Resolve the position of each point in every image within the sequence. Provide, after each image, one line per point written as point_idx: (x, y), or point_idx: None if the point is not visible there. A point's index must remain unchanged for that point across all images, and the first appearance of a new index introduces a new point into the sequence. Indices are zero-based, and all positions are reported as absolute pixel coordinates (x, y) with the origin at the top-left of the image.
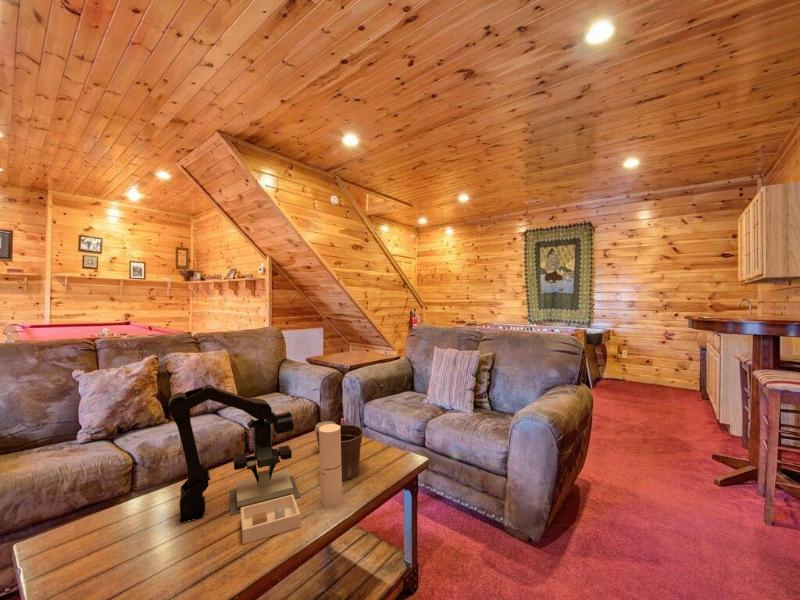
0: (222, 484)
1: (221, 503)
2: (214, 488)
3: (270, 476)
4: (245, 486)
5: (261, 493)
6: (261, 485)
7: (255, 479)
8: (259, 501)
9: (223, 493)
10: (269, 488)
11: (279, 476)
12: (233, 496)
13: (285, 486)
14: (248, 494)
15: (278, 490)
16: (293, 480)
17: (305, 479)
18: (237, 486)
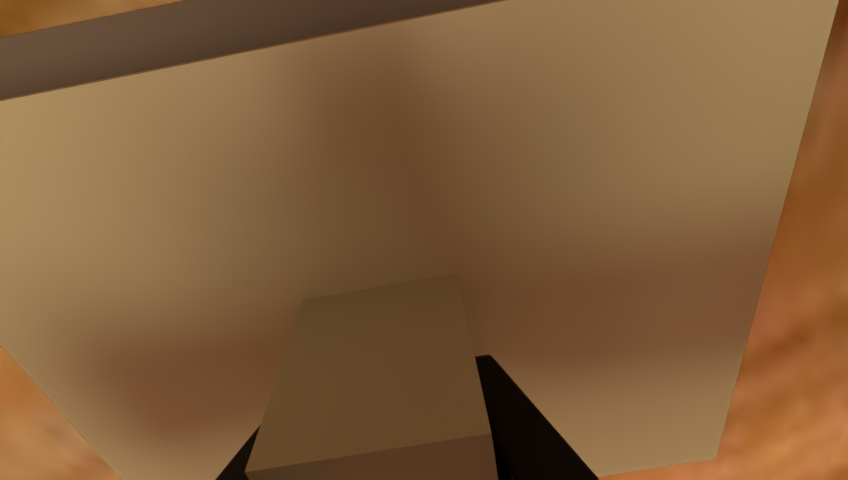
0: (732, 469)
1: (818, 218)
2: (798, 437)
3: None
4: (633, 351)
5: (401, 89)
6: (422, 299)
7: None
8: (428, 14)
9: (756, 366)
10: (286, 218)
11: (222, 457)
12: None
13: (5, 207)
14: (623, 124)
15: (89, 105)
16: None
17: (19, 411)
18: (725, 370)
